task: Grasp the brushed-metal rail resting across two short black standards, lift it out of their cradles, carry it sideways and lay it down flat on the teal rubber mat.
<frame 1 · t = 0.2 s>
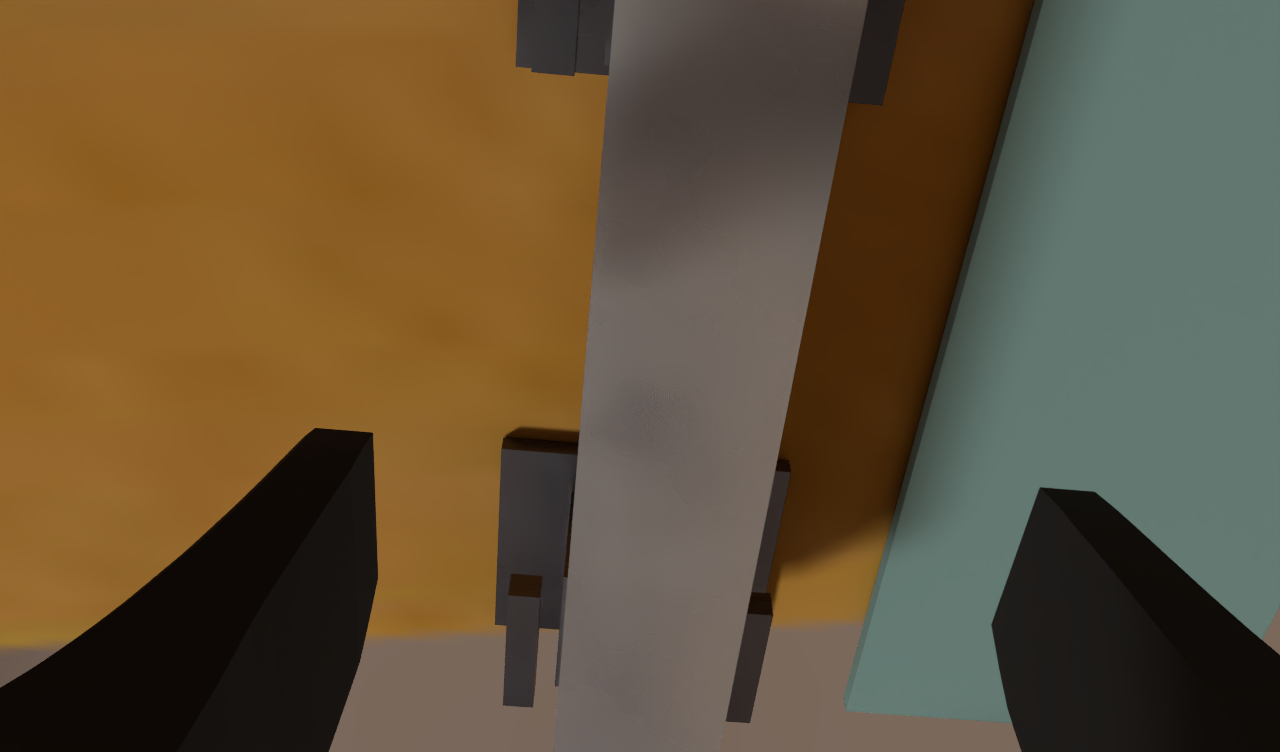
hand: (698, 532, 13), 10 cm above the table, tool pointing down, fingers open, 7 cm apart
mat: (1178, 325, 23), on the table
rail: (669, 364, 20), point 3 cm above the table, touching standard a, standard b
standard a: (636, 540, 26), on the table
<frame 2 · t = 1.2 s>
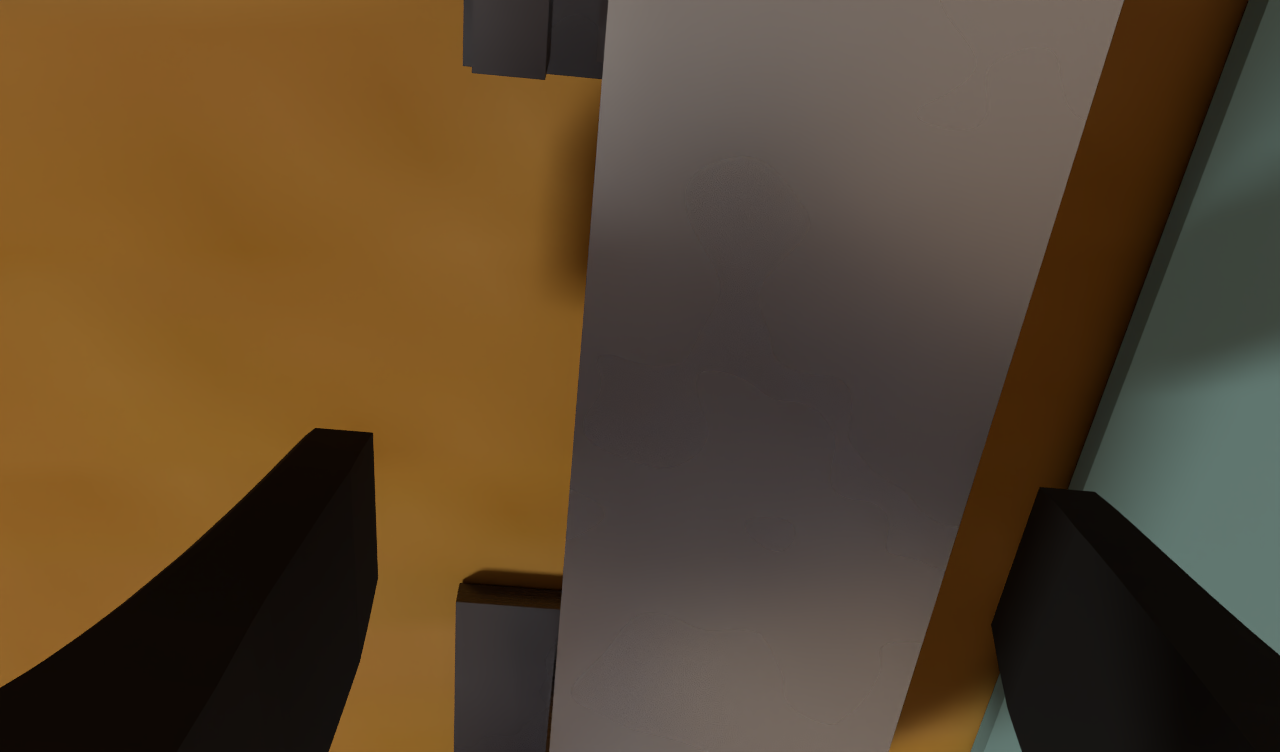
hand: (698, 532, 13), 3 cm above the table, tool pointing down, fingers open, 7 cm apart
rail: (698, 520, 13), point 3 cm above the table, touching standard a, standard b
standard a: (643, 711, 19), on the table
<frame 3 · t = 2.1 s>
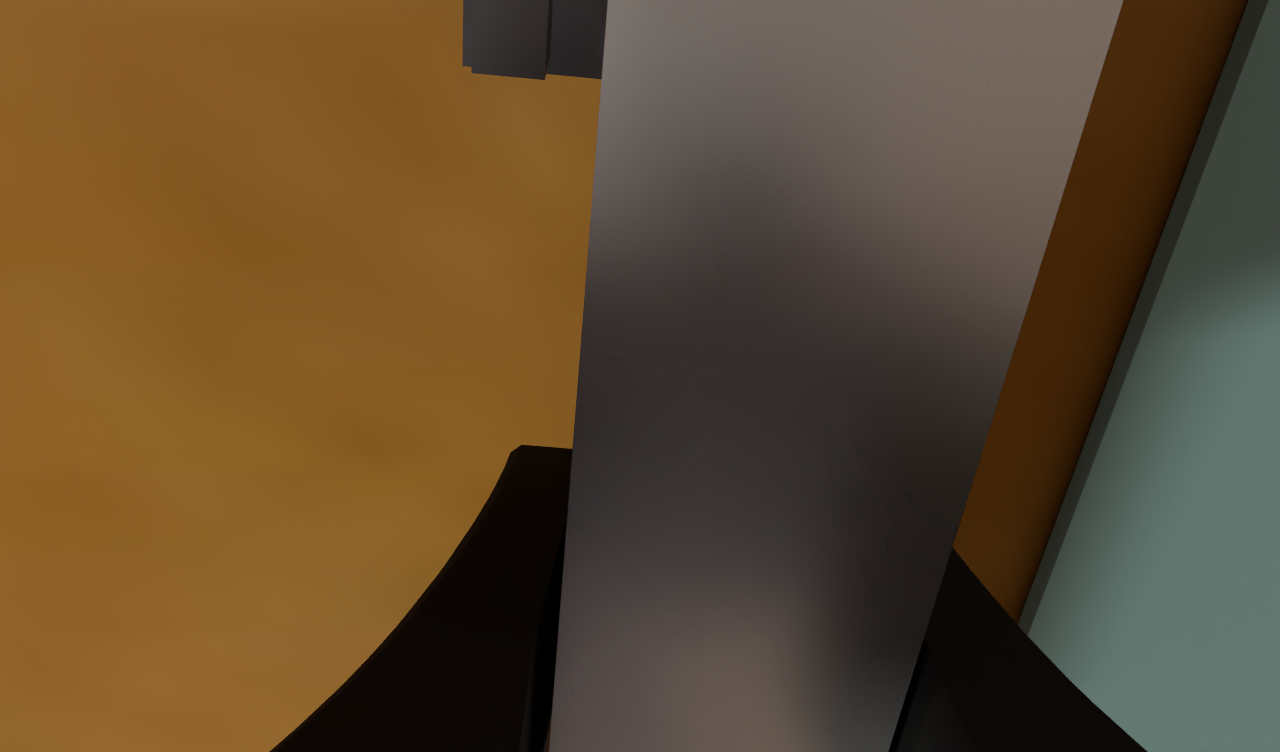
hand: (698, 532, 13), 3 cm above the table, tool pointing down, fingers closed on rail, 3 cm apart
rail: (697, 520, 13), point 3 cm above the table, touching gripper, standard a, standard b
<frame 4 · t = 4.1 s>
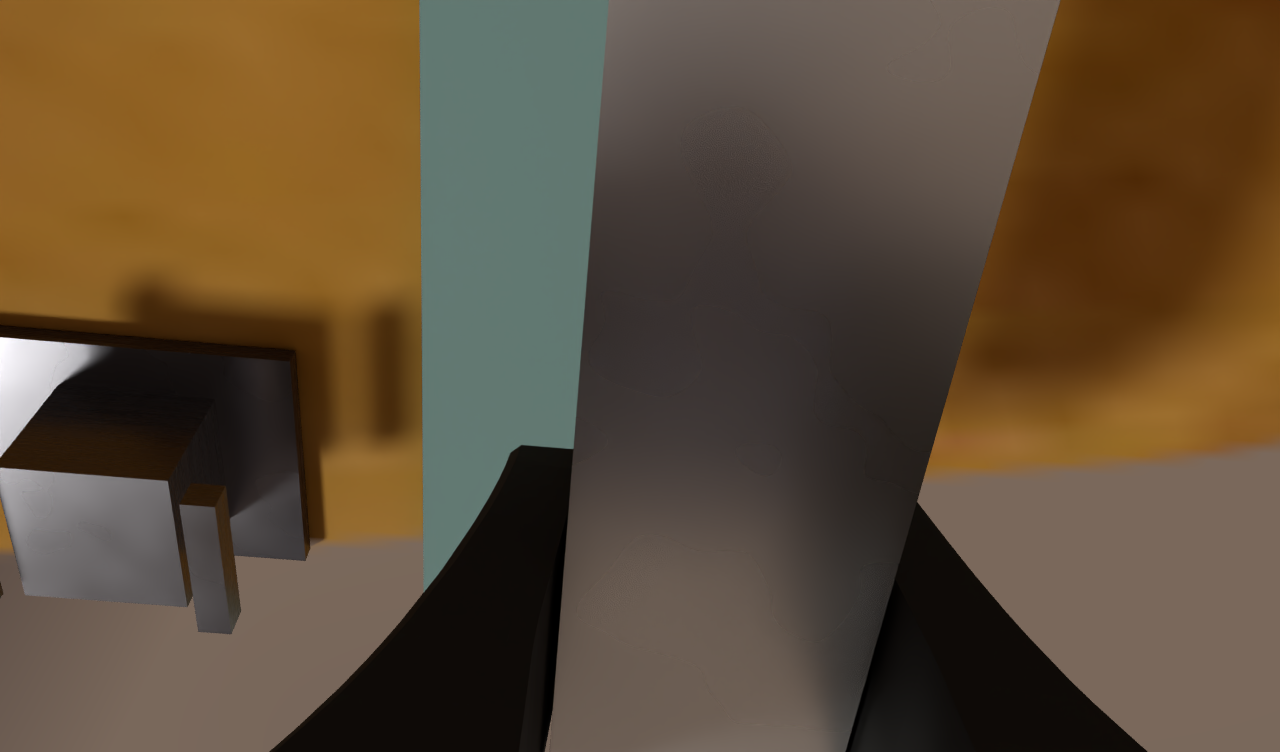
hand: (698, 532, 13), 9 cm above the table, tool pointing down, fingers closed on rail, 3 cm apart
mat: (680, 191, 20), on the table
rail: (694, 469, 14), point 8 cm above the table, touching gripper
standard a: (154, 443, 24), on the table
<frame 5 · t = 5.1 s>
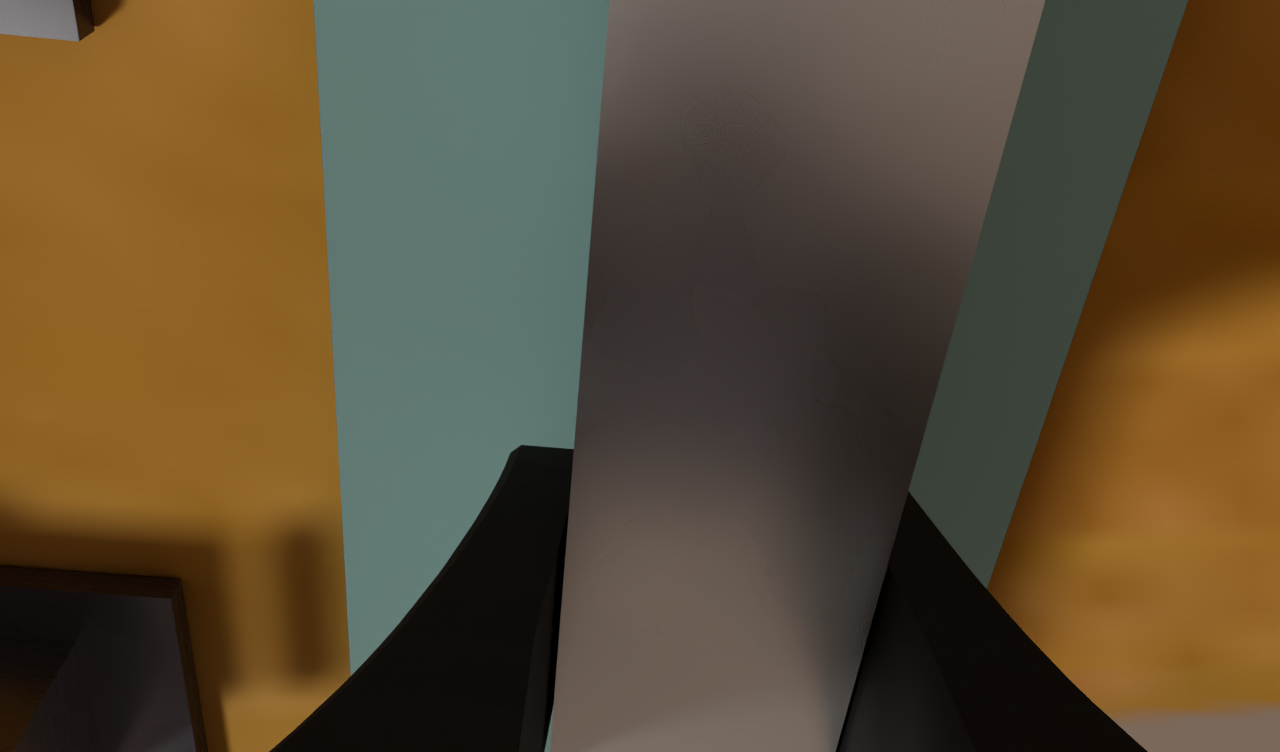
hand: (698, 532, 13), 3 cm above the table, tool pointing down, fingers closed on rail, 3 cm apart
mat: (690, 390, 15), on the table
rail: (694, 454, 14), point 1 cm above the table, touching gripper
standard a: (4, 684, 18), on the table
when the fingers open (2 cm above the table, at t = 6.0 s): rail stays where it is, resting on mat.
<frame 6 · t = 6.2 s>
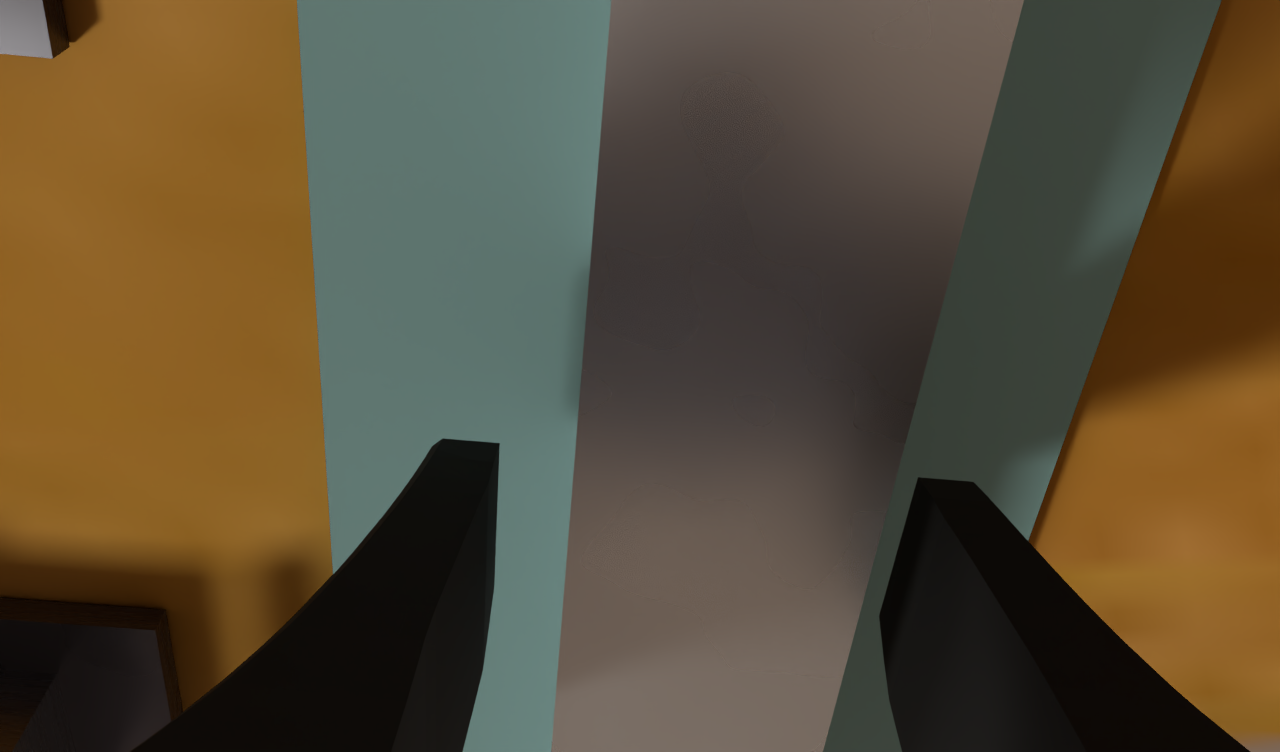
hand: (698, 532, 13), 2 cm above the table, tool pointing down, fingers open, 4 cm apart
mat: (692, 418, 15), on the table
rail: (693, 437, 14), resting on mat
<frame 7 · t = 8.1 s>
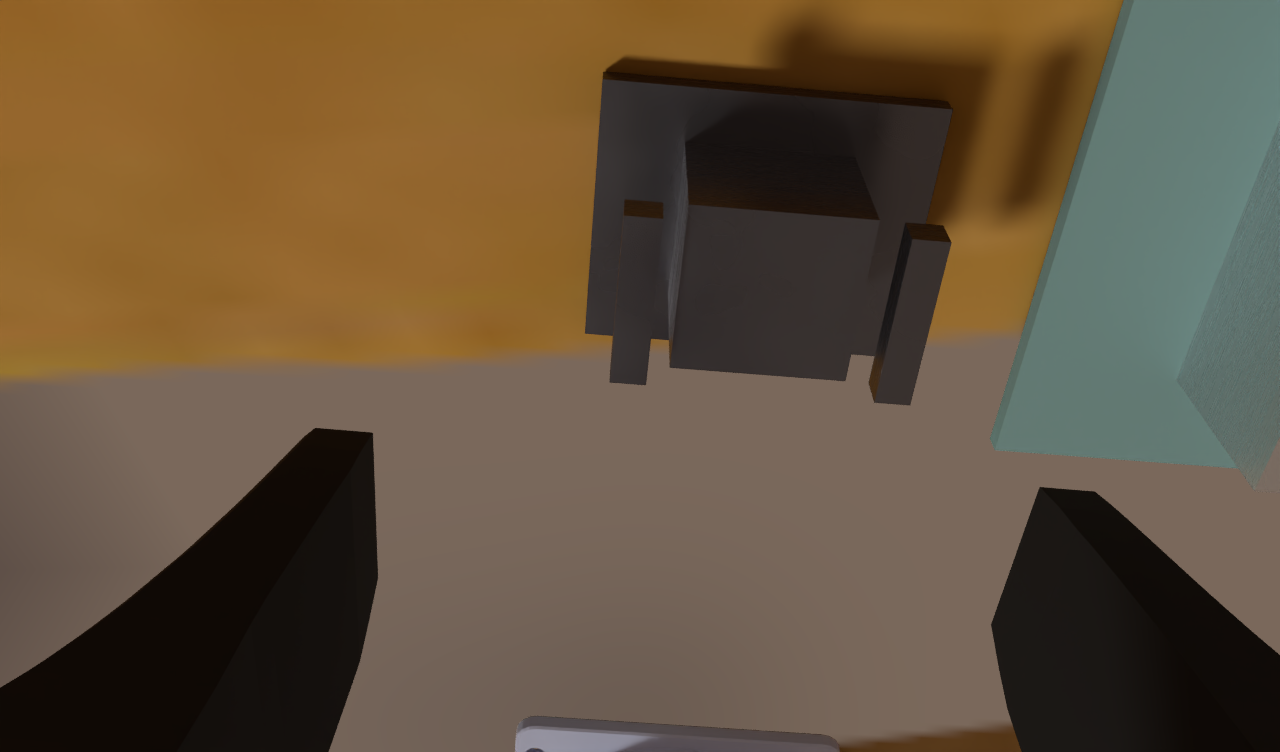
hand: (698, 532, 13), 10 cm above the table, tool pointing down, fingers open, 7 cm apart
standard a: (756, 218, 21), on the table
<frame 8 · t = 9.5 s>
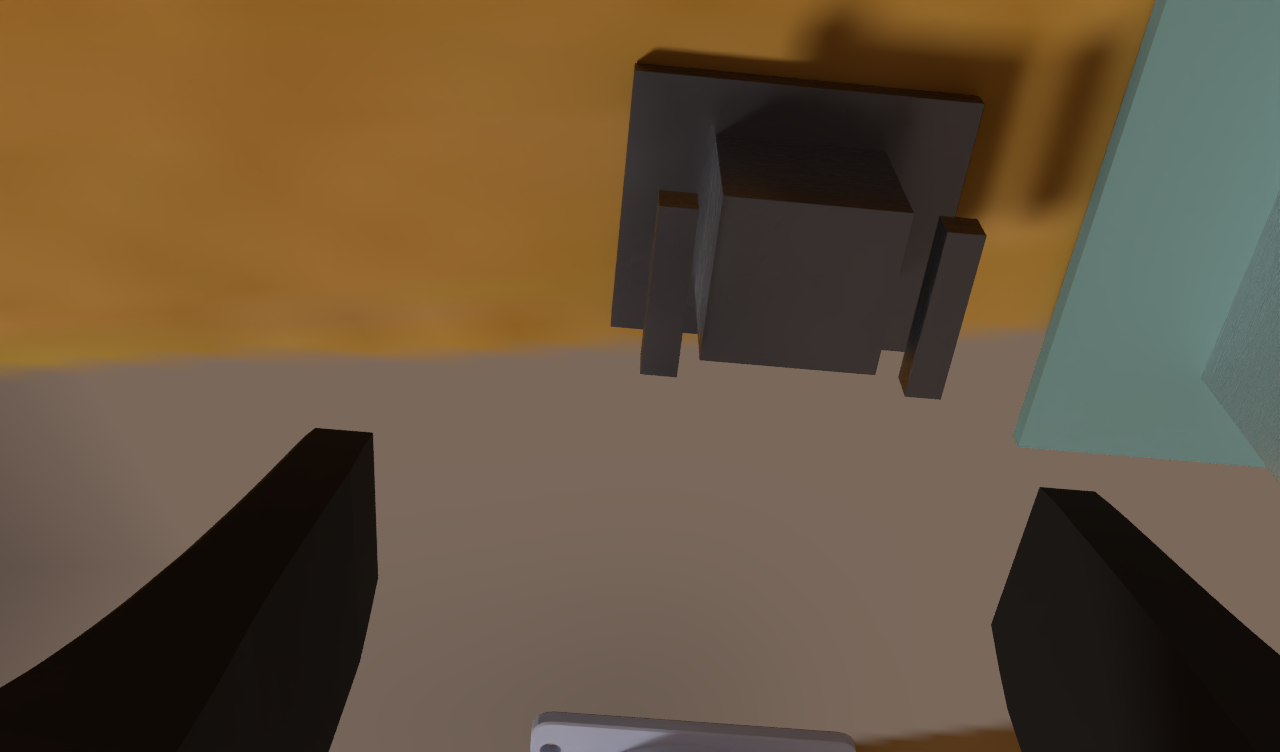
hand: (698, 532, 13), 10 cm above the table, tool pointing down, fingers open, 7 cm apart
standard a: (784, 212, 21), on the table
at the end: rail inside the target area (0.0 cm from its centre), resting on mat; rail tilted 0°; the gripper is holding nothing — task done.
